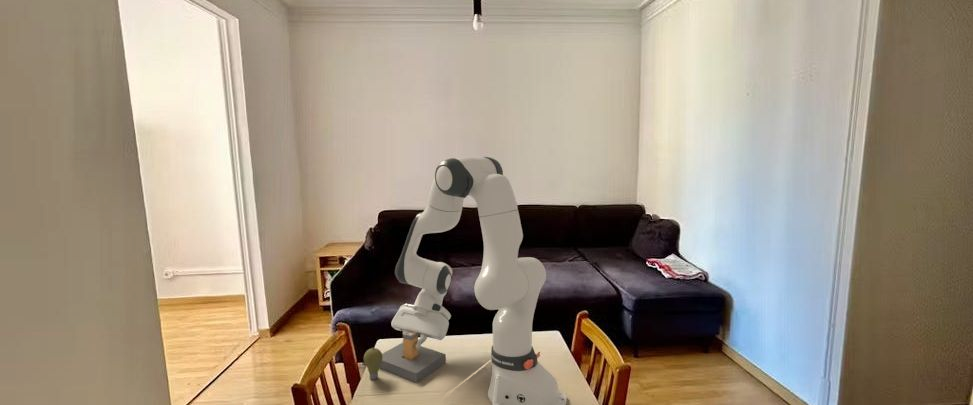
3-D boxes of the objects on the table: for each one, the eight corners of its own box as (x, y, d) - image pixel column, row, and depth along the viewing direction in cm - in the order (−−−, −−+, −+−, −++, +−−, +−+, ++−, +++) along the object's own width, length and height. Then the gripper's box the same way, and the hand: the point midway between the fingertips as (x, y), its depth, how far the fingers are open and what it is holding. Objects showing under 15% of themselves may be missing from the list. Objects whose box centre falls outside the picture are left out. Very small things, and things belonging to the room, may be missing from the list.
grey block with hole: (445, 364, 139) (445, 354, 139) (416, 384, 128) (416, 373, 127) (405, 350, 149) (405, 340, 149) (375, 367, 137) (374, 357, 137)
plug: (419, 361, 139) (418, 331, 138) (412, 366, 136) (410, 336, 135) (411, 359, 141) (410, 330, 140) (403, 363, 137) (402, 334, 136)
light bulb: (385, 375, 133) (384, 344, 132) (379, 384, 128) (378, 353, 126) (368, 374, 134) (367, 344, 132) (361, 384, 128) (360, 352, 127)
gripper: (398, 298, 147) (380, 336, 140) (447, 308, 138) (431, 349, 130) (406, 306, 152) (389, 344, 144) (455, 316, 142) (439, 356, 135)
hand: (409, 346), depth 137 cm, fingers closed on plug, 3 cm apart
